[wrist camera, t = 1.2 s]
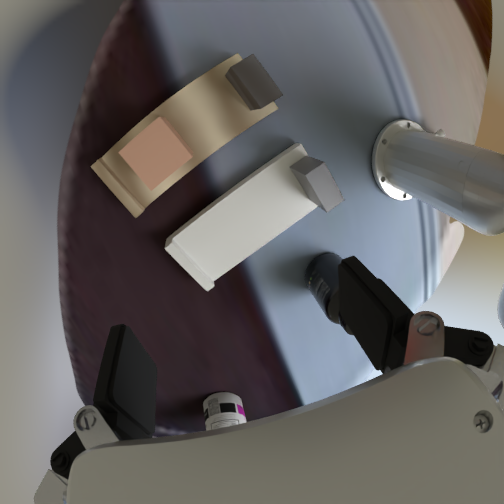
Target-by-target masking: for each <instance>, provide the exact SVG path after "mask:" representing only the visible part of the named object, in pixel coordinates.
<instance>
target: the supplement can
mask: <svg viewBox="0 0 504 504" xmlns="http://www.w3.org/2000/svg"><path fill="white" fill-rule="evenodd" d="M203 408H204V416H205V424H206V431H208V430H213V429H218V428H223V427H228V426H233V425H237V424H242V423H246V418H245V414H244V410H243V405H242V401H241V398H240V397H239V396H237V395H235V394H233V393H229V392H219V393H215V394H212V395H210V396H209V397H208V398H207V399H206V400H204V403H203Z"/></svg>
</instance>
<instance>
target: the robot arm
mask: <svg viewBox="0 0 504 504" xmlns="http://www.w3.org/2000/svg"><path fill="white" fill-rule="evenodd" d="M444 137H445V132H444V131H443V130H441V129H440V130H438V131H437V132H436V133H435V134H433V133H428V132H425V131H424V129H423V128H422V127H421V126H420V125H418V124H417V123H415V122H413V121H410V120H404V119H400V120H395V121H392V122H390V123H389V124H387V125H386V126H385V127H384V128H383V129H382V130H381V132H380V133H379V135H378V137H377V139H376V141H375V144H374V148H373V153H372V169H373V174H374V177H375V180H376V183H377V184H378V186H379V188H380V189H381V190H382V191H383V192H384V193H385V194H386V195H388V196H389V197H391V198H393V199H396V200H408V199H411V198H413V197H414V198H416V199H418V200H420V201H422V202H424V203H426V204H428V205H430V206H432V207H434V208H436V209H438V210H440V211H442V212H443V213H445V214H447V215H449V216H451V217H452V218H454V219H456V220H458V221H460V222H461V223H463V224H465V225H467V226H468V227H470V228H472V229H474V230H475V231H477V232H479V233H481V234H484V235H490V236H492V235H498V234H501V233H503V232H504V155H503V154H500V153H497V152H494V151H491V150H488V149H484V148H481V147H477V146H474V145H471V144H467V143H463V142H460V141H456V140H452V139H448V138H444ZM338 278H339V302H340V314H341V316H342V318H343V320H344V321H345V323H346V324H347V326H348V327H349V329H350V330H351V332H352V333H353V335H354V336H355V338H356V339H357V341H358V342H359V344H360V345H361V347H362V349H363V350H364V352H365V353H366V355H367V356H368V358H369V359H370V361H371V363H372V364H373V366H374V367H375V369H376V370H381V372H382V373H383V374H382V375H380V376H378V377H376V378H374V379H371V380H369V381H367V382H364V383H362V384H360V385H357V386H355V387H352V388H350V389H348V390H345V391H343V392H340V393H338V394H335V395H333V396H330V397H327V398H325V399H322V400H319V401H316V402H314V403H311V404H308V405H305V406H302V407H299V408H296V409H293V410H289V411H286V412H283V413H280V414H276V415H273V416H269V417H265V418H262V419H258V420H254V421H250V422H246V423H242V424H237V425H233V426H228V427H223V428H218V429H213V430H208V431H202V432H196V433H189V434H183V435H175V436H166V437H157V438H152V433H154V432H155V404H156V381H157V367H156V365H155V363H154V361H153V360H152V359H151V357H150V356H149V355H148V353H147V352H146V350H145V349H144V348H143V346H142V345H141V343H140V342H139V340H138V339H137V338H136V336H135V335H134V333H133V332H132V330H131V329H130V327H129V326H126V325H124V324H120V325H116V326H112V327H111V329H110V333H109V336H108V340H107V343H106V347H105V351H104V355H103V359H102V362H101V367H100V371H99V375H98V379H97V384H96V388H95V393H94V398H93V401H94V405H93V406H84V407H82V408H81V409H80V410H79V411H78V412H77V413H76V415H75V417H74V428H75V432H73V433H72V434H71V435H70V436H69V437H68V438H67V439H66V440H65V441H64V442H63V443H62V444H61V445H60V446H59V447H58V448H57V449H56V450H55V451H54V452H53V453H52V456H51V467H52V470H50V469H48V471H47V473H46V475H45V477H44V478H43V480H42V482H41V484H40V486H39V488H38V489H37V491H36V493H35V496H34V502H35V504H504V346H502V345H500V344H498V345H497V346H495V345H493V341H492V340H491V338H490V337H489V336H488V335H487V334H485V333H484V332H480V331H474V330H467V329H461V328H454V327H448V326H444V322H443V320H442V318H441V317H440V316H439V315H438V314H436V313H434V312H429V311H422V312H418V313H416V314H415V315H414V313H413V312H412V311H411V310H410V309H409V308H408V307H407V306H406V305H405V304H404V303H403V302H402V301H401V299H400V298H399V297H398V296H397V295H396V294H395V293H394V292H393V291H392V290H391V289H390V288H389V287H388V286H387V285H386V284H385V283H384V282H383V281H382V280H381V279H379V278H376V277H375V276H374V275H373V274H372V273H371V272H370V271H369V270H368V269H367V268H366V267H365V266H364V265H363V264H362V263H361V262H360V261H359V260H358V259H357V258H356V257H355V256H351V257H348V258H345V259H342V260H341V264H339V265H338ZM497 310H498V317H499V320H500V323H501V325H502V326H503V328H504V283H503V286H502V289H501V292H500V295H499V300H498V308H497Z"/></svg>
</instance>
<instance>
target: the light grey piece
mask: <svg viewBox="0 0 504 504" xmlns="http://www.w3.org/2000/svg"><path fill="white" fill-rule="evenodd" d="M342 201H344V198H343V196H342V194H341V192H340V190H339V188H338V186H337V184H336V182H335V181H334V179H333V177H332V175H331V173H330V171H329V169H328V168H327V166H326V164H325V162H323V161H320V160H317V159H314V158H312V157H309V156H308V154H307V152H306V151H305V149H304V147H303V146H302V144H299V143H295V144H294V145H292V146H291V147H289V148H288V149H286V150H285V151H283V152H282V153H280V154H279V155H277V156H276V157H274V158H273V159H271V160H270V161H269V162H267V163H266V164H264V165H263V166H261V167H260V168H259V169H257V170H256V171H254V172H253V173H252V174H250V175H249V176H247V177H246V178H245V179H243V180H242V181H240V182H239V183H238V184H236V185H235V186H234V187H232V188H231V189H230V190H228V191H227V192H226V193H224V194H223V195H221V196H220V197H219V198H218V199H216V200H215V201H214V202H212V203H211V204H210V205H208V206H207V207H206V208H204V209H203V210H202V211H201V212H199V213H198V214H197V215H195V216H194V217H193V218H192V219H190V220H189V221H188V222H187V223H185V224H184V225H183V226H182V227H180V228H179V229H178V230H177V231H175V232H174V233H173V234H172V235H170V236H169V237H168V238H167V239H166V244H165V250H166V251H167V252H168V253H169V254H170V255H171V256H172V257H173V258H174V259H175V260H176V261H177V262H178V263H179V264H180V265H181V266H182V267H183V268H184V269H185V270H186V271H187V272H188V273H189V274H190V275H191V276H192V277H193V278H194V279H195V280H196V281H197V282H198V283H199V284H200V285H201V286H202V287H203V288H204V289H205V290H206V291H209V290H210V289H211V288H213V287H214V281H215V280H216V279H218V278H219V277H220V276H222V275H223V274H224V273H226V272H227V271H229V270H230V269H231V268H233V267H234V266H236V265H237V264H238V263H240V262H241V261H243V260H244V259H245V258H247V257H248V256H250V255H251V254H252V253H254V252H255V251H257V250H258V249H259V248H261V247H262V246H264V245H265V244H266V243H268V242H269V241H271V240H272V239H273V238H275V237H276V236H277V235H279V234H280V233H282V232H283V231H284V230H286V229H287V228H289V227H290V226H291V225H293V224H294V223H296V222H297V221H298V220H300V219H301V218H303V217H304V216H305V215H307V214H308V213H309V212H311V211H312V210H314V209H315V208H316V207H318V206H319V207H320V208H321V209H323V210H324V211H325V212H329V211H330V210H331V209H333V208H334V207H336V206H337V205H338V204H340V203H341V202H342Z"/></svg>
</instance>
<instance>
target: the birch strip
mask: <svg viewBox="0 0 504 504" xmlns="http://www.w3.org/2000/svg"><path fill="white" fill-rule="evenodd" d="M281 96H283V94H282V93H281V91H280V90H279V88H278V87H277V86H276V84H275V83H274V81H273V80H272V78H271V77H270V76H269V74H268V73H267V71H266V70H265V69H264V67H263V66H262V65H261V63H260V62H259V61H258V59H257V58H256V57H255V55H254V54H252V55H250V56H248V57H247V58H245V59H242V58H241V56H240V55H239V54H238V53H237V54H235V55H234V56H232V57H230V58H229V59H227V60H225V61H223V62H222V63H220V64H219V65H217V66H215V67H214V68H212V69H211V70H209V71H207V72H206V73H204V74H203V75H201V76H200V77H198V78H197V79H195V80H194V81H192V82H191V83H190V84H188V85H187V86H185V87H184V88H182V89H181V90H180V91H178V92H177V93H176V94H174V95H173V96H172V97H170V98H169V99H168V100H166V101H165V102H164V103H162V104H161V105H160V106H159V107H157V108H156V109H155V110H154V111H152V112H151V113H150V114H149V115H148V116H146V117H145V118H144V119H143V120H142V121H140V122H139V123H138V124H137V125H136V126H135V127H134V128H132V129H131V130H130V131H129V132H128V133H127V134H126V135H125V136H124V137H122V138H121V139H120V140H119V141H118V142H117V143H116V144H115V145H114V146H113V147H112V148H111V149H110V150H109V151H108V152H107V153H106V154H105V155H104V156H103V157H102V158H100V159H98V160H97V161H96V162H95V163H94V164H93V165H92V166H91V168H92V169H93V170H94V171H95V172H96V174H97V175H98V176H99V177H100V178H101V179H102V181H103V182H104V183H105V184H106V185H107V186H108V188H109V189H110V190H111V191H112V192H113V193H114V194H115V196H116V197H117V198H118V199H119V200H120V201H121V202H122V203H123V205H124V206H125V207H126V208H127V209H128V210H129V211H130V212H131V213H132V215H133V216H134V217H135V218H137V217H138V216H139V215H140V214H141V213H142V212H143V211H144V209H145V208H146V207H147V206H148V205H149V204H150V203H152V202H153V201H154V200H155V199H156V198H157V197H158V196H160V195H161V194H162V193H163V192H164V191H166V190H167V189H168V188H169V187H170V186H172V185H173V184H174V183H175V182H176V181H178V180H179V179H180V178H181V177H183V176H184V175H185V174H186V173H188V172H189V171H190V170H192V169H193V168H194V167H195V166H197V165H198V164H199V163H201V162H202V161H203V160H204V159H206V158H207V157H208V156H210V155H211V154H212V153H214V152H215V151H217V150H218V149H219V148H221V147H222V146H223V145H225V144H226V143H228V142H229V141H230V140H232V139H233V138H235V137H236V136H238V135H239V134H240V133H242V132H243V131H245V130H246V129H248V128H249V127H251V126H252V125H254V124H255V123H257V122H258V121H260V120H261V119H263V118H264V117H266V116H267V115H269V114H271V113H272V112H274V111H275V110H277V109H278V107H277V106H276V104H275V103H274V101H275V100H276V99H278V98H280V97H281ZM158 117H165V118H166V119H167V120H168V121H169V122H170V124H171V125H172V126H173V127H174V129H175V130H176V131H177V132H178V134H179V135H180V136H181V137H182V139H183V140H184V141H185V142H186V144H187V145H188V146H189V147H190V149H191V150H192V151H193V157H192V158H191V159H190V160H188V161H187V162H186V163H185V164H183V165H182V166H181V167H180V168H178V169H177V170H176V171H175V172H173V173H172V174H171V175H170V176H169V177H167V178H166V179H165V180H164V181H163V182H161V183H160V184H159V185H158V186H157V187H156V188H154V189H153V190H152V191H151V190H150V189H149V188H148V187H147V186H146V184H145V183H144V182H143V181H142V180H141V179H140V177H139V176H138V175H137V174H136V173H135V172H134V170H133V169H132V168H131V167H130V166H129V165H128V163H127V162H126V161H125V160H124V159H123V157H122V156H121V155H120V154H119V153H118V152H119V151H120V150H122V149H123V148H124V147H125V146H126V145H127V144H128V143H129V142H130V141H131V140H132V139H134V138H135V137H136V136H137V135H138V134H139V133H140V132H142V131H143V130H144V129H145V128H146V127H147V126H149V125H150V124H151V123H152V122H153V121H155V120H156V119H157V118H158Z"/></svg>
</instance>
